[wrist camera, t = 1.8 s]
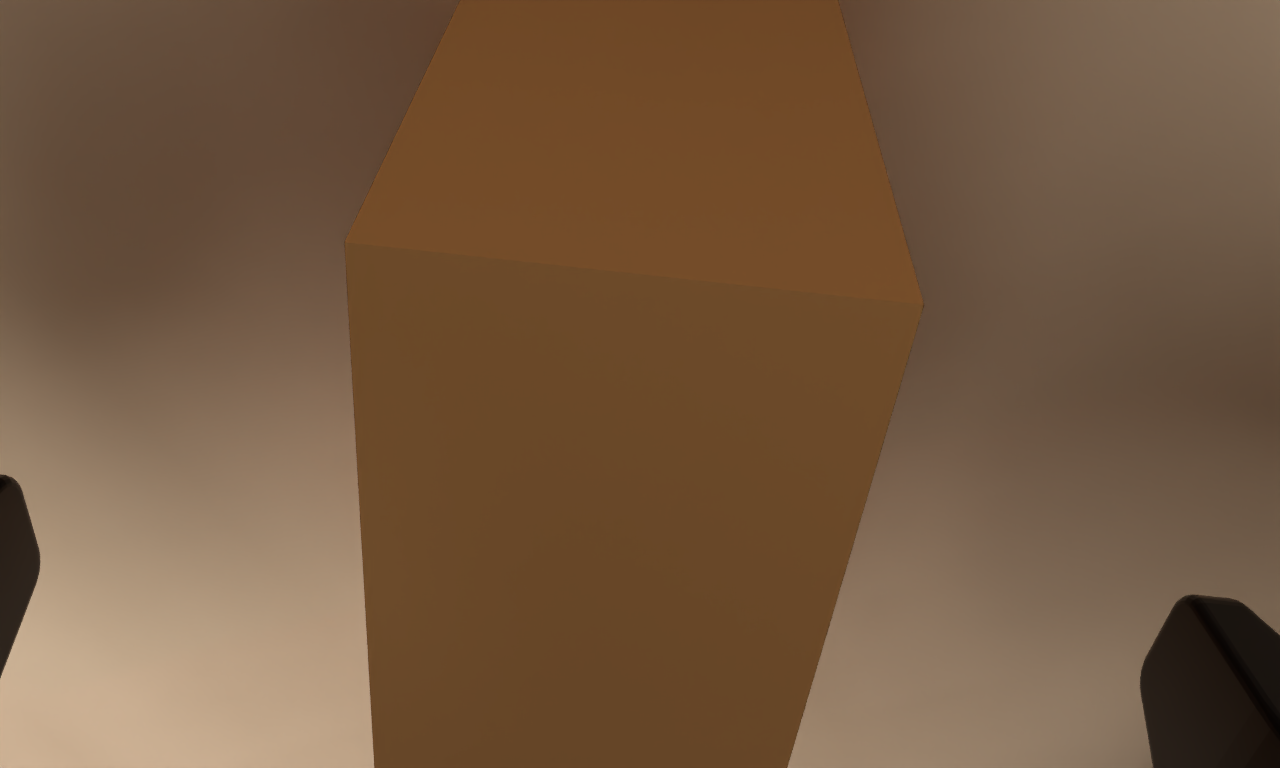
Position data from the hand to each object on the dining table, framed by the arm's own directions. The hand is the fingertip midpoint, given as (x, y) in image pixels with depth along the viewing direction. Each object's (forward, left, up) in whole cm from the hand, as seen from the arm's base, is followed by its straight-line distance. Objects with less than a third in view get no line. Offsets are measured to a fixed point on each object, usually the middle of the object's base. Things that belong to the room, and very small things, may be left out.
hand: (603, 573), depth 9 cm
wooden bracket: (0, 0, -4) cm, 4 cm away
